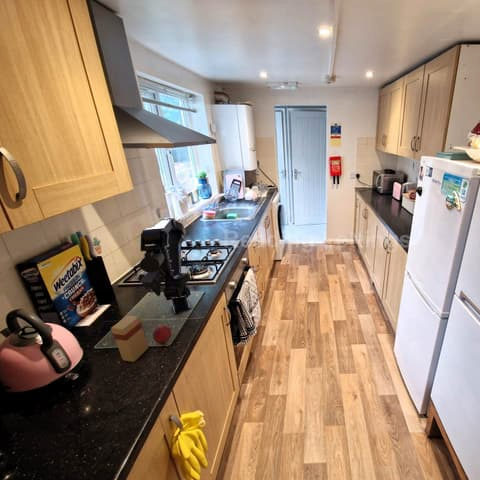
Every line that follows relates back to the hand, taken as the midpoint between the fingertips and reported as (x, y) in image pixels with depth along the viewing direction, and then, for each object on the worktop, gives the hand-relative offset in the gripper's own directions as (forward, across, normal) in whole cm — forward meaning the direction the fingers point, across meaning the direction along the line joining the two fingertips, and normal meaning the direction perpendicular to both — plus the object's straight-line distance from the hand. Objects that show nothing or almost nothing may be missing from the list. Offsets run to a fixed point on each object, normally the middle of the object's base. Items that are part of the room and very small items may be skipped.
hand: (169, 297), depth 103 cm
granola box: (+14, -3, -16) cm, 21 cm away
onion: (+14, +3, -10) cm, 17 cm away
